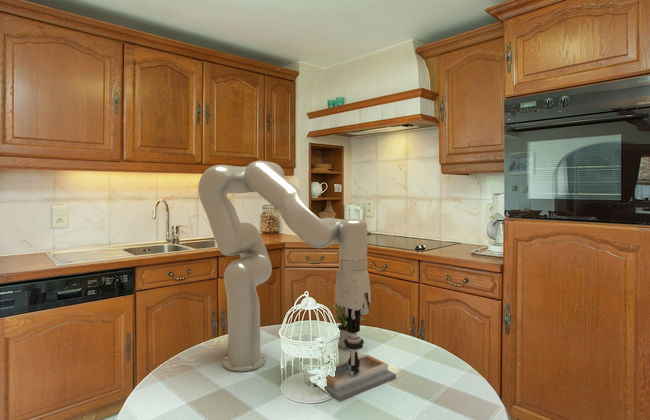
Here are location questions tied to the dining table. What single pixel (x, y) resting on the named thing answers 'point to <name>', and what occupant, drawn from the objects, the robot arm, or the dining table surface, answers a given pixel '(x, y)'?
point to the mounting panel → (361, 386)
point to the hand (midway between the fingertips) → (353, 331)
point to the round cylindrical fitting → (353, 353)
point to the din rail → (367, 371)
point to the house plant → (343, 326)
